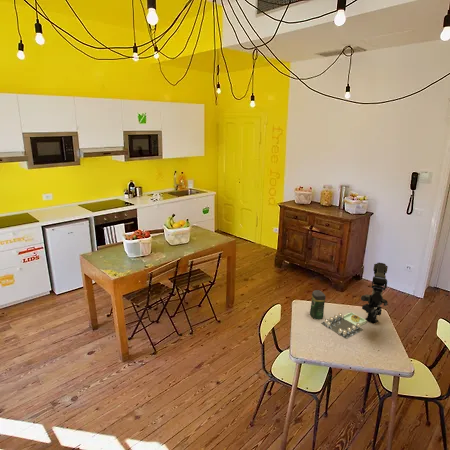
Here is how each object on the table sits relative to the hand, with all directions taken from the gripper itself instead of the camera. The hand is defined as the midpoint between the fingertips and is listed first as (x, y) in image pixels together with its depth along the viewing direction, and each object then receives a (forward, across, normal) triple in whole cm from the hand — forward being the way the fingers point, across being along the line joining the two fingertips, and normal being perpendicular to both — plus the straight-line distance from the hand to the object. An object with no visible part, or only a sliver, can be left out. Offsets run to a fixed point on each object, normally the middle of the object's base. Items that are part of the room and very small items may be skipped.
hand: (372, 316), depth 213 cm
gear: (+11, -4, -14) cm, 18 cm away
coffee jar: (+12, +14, -32) cm, 37 cm away
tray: (+12, -4, -14) cm, 19 cm away
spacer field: (+12, +10, -14) cm, 21 cm away
